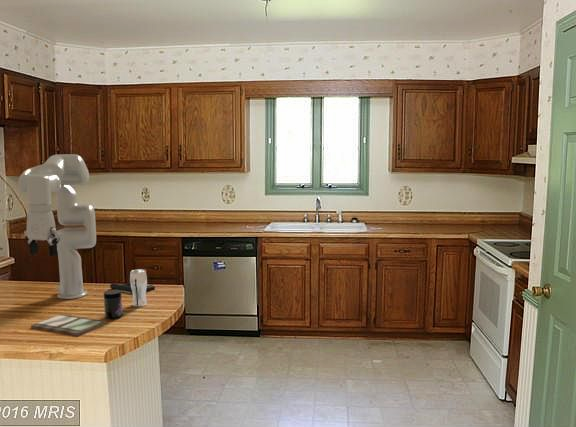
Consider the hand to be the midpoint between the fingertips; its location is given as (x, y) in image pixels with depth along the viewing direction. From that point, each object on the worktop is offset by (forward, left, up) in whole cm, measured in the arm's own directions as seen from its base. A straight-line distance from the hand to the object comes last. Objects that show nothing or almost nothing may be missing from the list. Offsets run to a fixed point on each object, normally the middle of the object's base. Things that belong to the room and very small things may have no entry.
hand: (43, 254), depth 180 cm
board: (+5, +5, -28) cm, 29 cm away
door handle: (-6, +56, -29) cm, 63 cm away
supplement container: (+14, +19, -29) cm, 37 cm away
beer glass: (+13, +36, -29) cm, 48 cm away
